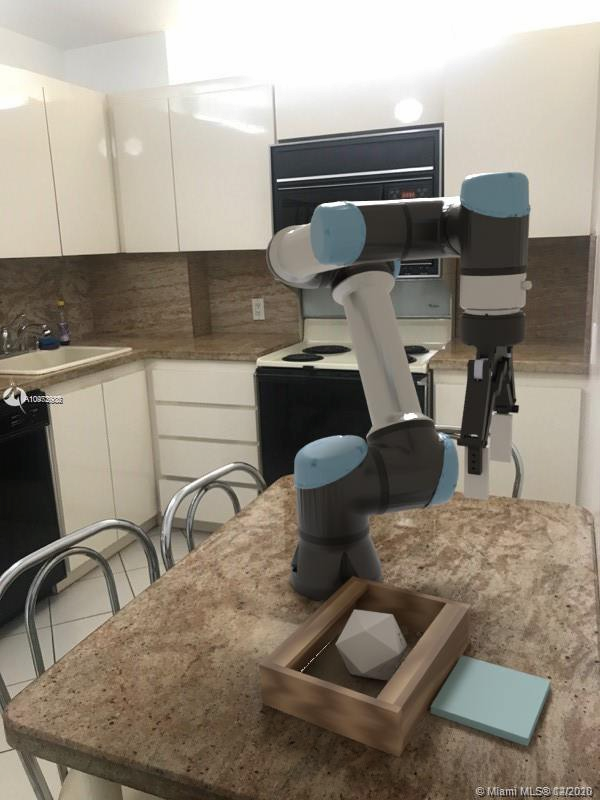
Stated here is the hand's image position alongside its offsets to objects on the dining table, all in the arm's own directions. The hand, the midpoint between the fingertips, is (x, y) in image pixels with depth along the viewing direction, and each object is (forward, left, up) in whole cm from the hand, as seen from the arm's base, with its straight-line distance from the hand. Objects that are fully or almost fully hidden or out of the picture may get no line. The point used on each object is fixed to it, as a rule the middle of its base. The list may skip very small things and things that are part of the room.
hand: (489, 478), depth 84 cm
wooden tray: (-11, -12, -24) cm, 29 cm away
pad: (+4, -10, -24) cm, 26 cm away
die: (-11, -12, -24) cm, 29 cm away
